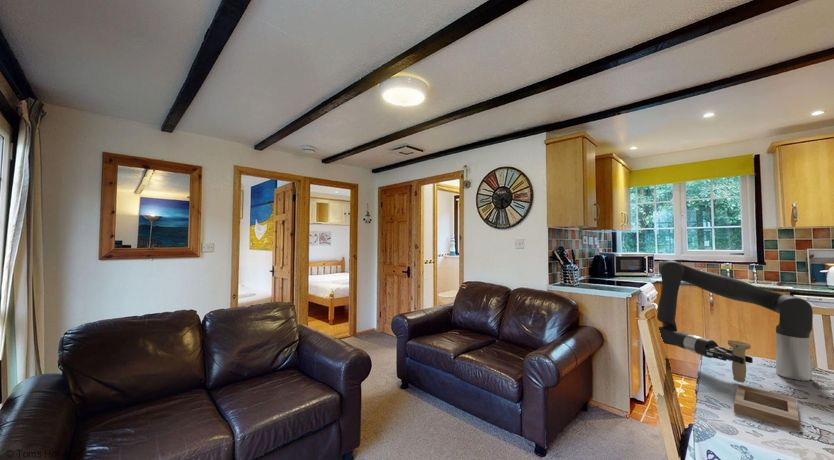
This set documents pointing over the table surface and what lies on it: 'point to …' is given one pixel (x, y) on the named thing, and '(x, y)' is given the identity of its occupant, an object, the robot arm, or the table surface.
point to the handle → (738, 368)
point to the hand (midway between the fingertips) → (747, 360)
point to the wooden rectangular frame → (765, 412)
